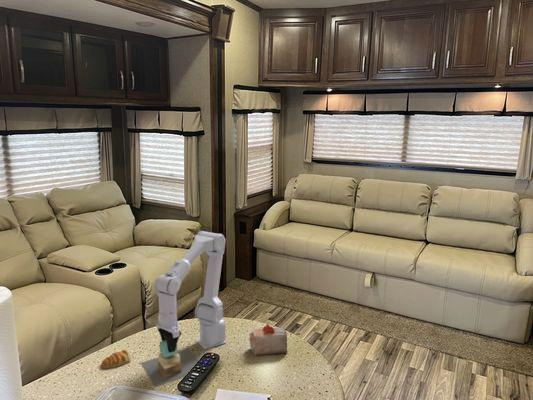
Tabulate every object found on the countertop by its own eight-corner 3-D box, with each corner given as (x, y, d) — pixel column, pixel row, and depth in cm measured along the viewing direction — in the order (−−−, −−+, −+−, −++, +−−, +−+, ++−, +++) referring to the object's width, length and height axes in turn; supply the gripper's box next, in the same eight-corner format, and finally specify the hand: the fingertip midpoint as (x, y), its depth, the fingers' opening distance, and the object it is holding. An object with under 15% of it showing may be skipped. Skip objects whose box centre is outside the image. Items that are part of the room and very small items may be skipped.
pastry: (105, 373, 138) (105, 363, 137) (98, 364, 143) (97, 354, 142) (132, 363, 144) (131, 353, 143) (124, 355, 149) (124, 345, 148)
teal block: (172, 347, 141) (172, 338, 140) (177, 353, 137) (177, 344, 136) (159, 351, 138) (159, 342, 137) (164, 357, 134) (164, 348, 134)
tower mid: (174, 356, 142) (173, 348, 142) (180, 364, 138) (180, 355, 137) (158, 361, 139) (158, 353, 138) (164, 369, 135) (164, 360, 134)
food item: (252, 358, 148) (252, 333, 146) (248, 347, 156) (249, 323, 154) (288, 354, 151) (289, 330, 149) (283, 343, 158) (283, 320, 157)
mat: (187, 349, 153) (187, 348, 153) (206, 370, 140) (206, 369, 140) (140, 363, 143) (140, 362, 143) (155, 387, 130) (155, 386, 130)
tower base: (174, 363, 143) (174, 355, 142) (181, 372, 138) (181, 364, 138) (158, 369, 140) (157, 361, 139) (164, 377, 135) (164, 369, 134)
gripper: (149, 305, 139) (150, 341, 141) (164, 322, 127) (165, 361, 129) (168, 300, 143) (169, 336, 145) (185, 316, 131) (186, 355, 133)
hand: (169, 348), depth 137 cm, fingers closed on teal block, 4 cm apart
